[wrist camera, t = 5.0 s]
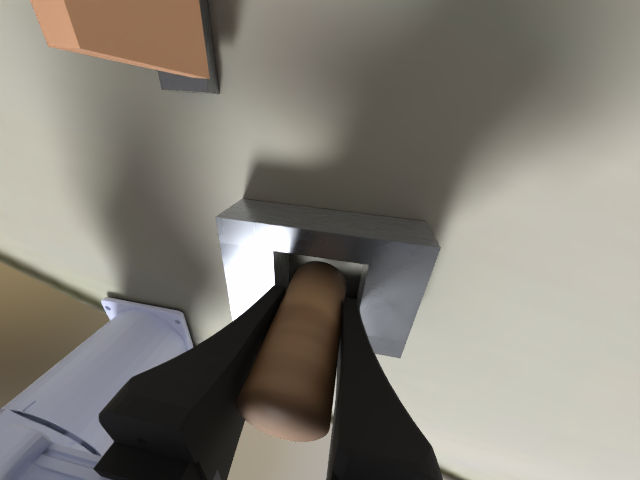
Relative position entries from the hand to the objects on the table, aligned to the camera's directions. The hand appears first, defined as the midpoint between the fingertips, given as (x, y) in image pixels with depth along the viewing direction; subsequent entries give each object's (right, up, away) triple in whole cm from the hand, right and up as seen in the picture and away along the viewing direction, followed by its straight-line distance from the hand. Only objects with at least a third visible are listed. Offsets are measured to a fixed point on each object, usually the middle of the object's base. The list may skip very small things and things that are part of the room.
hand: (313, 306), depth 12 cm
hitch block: (+1, +2, +3) cm, 4 cm away
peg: (0, +1, +1) cm, 2 cm away
